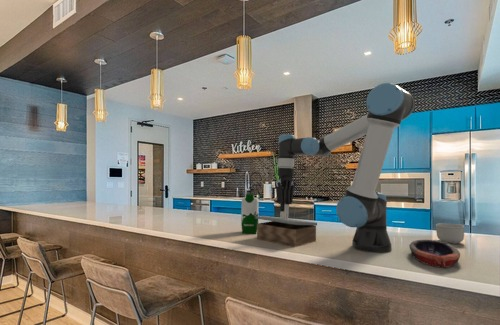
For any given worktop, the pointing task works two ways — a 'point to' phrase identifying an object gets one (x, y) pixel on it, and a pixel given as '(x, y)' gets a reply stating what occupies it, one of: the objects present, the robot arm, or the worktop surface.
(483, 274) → the worktop surface
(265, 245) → the worktop surface
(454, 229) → the teacup
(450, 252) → the dish
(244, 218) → the milk carton
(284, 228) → the walnut box
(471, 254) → the worktop surface
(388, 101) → the robot arm
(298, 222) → the lid
